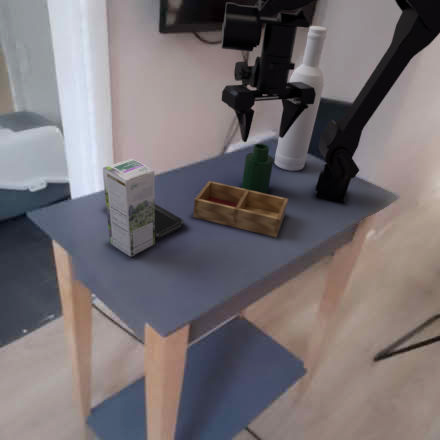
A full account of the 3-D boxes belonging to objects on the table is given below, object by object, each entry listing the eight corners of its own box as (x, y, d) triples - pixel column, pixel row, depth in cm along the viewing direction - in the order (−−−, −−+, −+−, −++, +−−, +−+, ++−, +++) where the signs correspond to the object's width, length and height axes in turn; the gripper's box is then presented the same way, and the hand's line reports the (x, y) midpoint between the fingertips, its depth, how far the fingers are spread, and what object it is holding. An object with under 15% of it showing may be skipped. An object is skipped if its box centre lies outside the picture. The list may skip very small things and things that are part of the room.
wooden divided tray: (284, 215, 82) (288, 198, 80) (276, 237, 76) (280, 219, 73) (207, 197, 85) (208, 180, 82) (193, 217, 79) (194, 199, 76)
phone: (155, 236, 70) (103, 204, 77) (155, 242, 71) (104, 209, 78) (186, 221, 75) (135, 191, 81) (186, 226, 76) (135, 196, 82)
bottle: (271, 167, 100) (296, 26, 80) (276, 155, 106) (302, 22, 86) (301, 173, 99) (336, 32, 79) (306, 162, 104) (338, 27, 84)
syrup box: (134, 232, 73) (129, 156, 63) (156, 245, 70) (154, 168, 61) (109, 244, 69) (100, 165, 60) (131, 259, 67) (126, 179, 57)
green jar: (269, 187, 92) (278, 144, 85) (264, 198, 87) (272, 154, 81) (245, 181, 93) (251, 139, 86) (238, 192, 88) (244, 148, 82)
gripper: (292, 44, 81) (278, 122, 91) (211, 44, 73) (206, 129, 84) (326, 57, 74) (307, 140, 84) (241, 58, 66) (231, 149, 76)
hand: (263, 139), depth 82 cm, fingers open, 9 cm apart
